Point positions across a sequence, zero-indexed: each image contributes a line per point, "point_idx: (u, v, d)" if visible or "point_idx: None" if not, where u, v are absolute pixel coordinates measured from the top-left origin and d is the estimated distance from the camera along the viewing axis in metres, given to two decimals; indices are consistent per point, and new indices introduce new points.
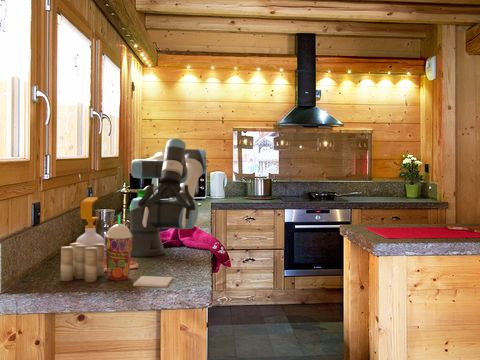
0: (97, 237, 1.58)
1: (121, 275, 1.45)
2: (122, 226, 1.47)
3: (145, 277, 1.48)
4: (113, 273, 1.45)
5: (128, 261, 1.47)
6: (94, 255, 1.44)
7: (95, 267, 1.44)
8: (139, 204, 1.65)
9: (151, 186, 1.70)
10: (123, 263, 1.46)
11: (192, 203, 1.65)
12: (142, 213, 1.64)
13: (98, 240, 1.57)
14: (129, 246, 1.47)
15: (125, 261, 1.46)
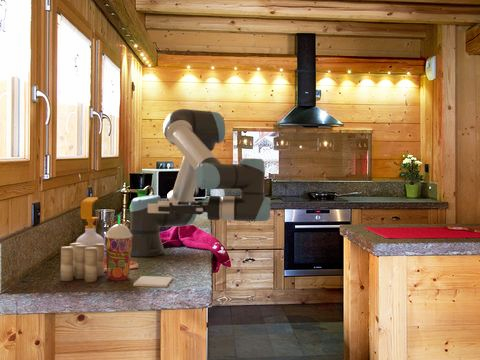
0: (97, 237, 1.58)
1: (121, 275, 1.45)
2: (122, 226, 1.47)
3: (145, 277, 1.48)
4: (113, 273, 1.45)
5: (128, 261, 1.47)
6: (94, 255, 1.44)
7: (95, 267, 1.44)
8: None
9: (198, 213, 1.40)
10: (123, 263, 1.46)
11: None
12: (161, 211, 1.39)
13: (98, 240, 1.57)
14: (129, 246, 1.47)
15: (125, 261, 1.46)
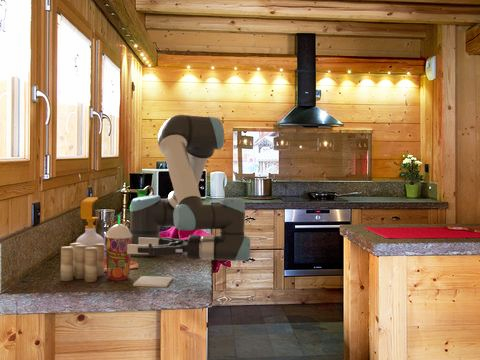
0: (97, 237, 1.58)
1: (121, 275, 1.45)
2: (122, 226, 1.47)
3: (145, 277, 1.48)
4: (113, 273, 1.45)
5: (128, 261, 1.47)
6: (94, 255, 1.44)
7: (95, 267, 1.44)
8: None
9: None
10: (123, 263, 1.46)
11: None
12: None
13: (98, 240, 1.57)
14: None
15: (125, 261, 1.46)
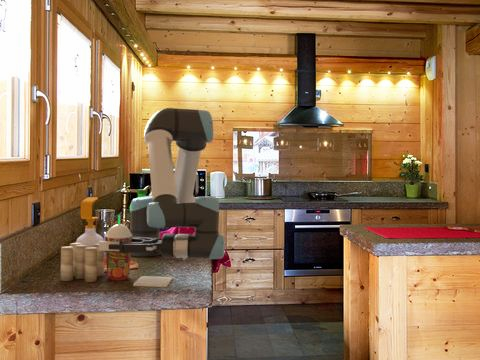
0: (97, 237, 1.58)
1: (121, 275, 1.45)
2: (122, 226, 1.47)
3: (145, 277, 1.48)
4: (113, 273, 1.45)
5: (128, 261, 1.47)
6: (94, 255, 1.44)
7: (95, 267, 1.44)
8: None
9: None
10: (123, 263, 1.46)
11: None
12: (111, 249, 1.43)
13: (98, 240, 1.57)
14: None
15: (125, 261, 1.46)
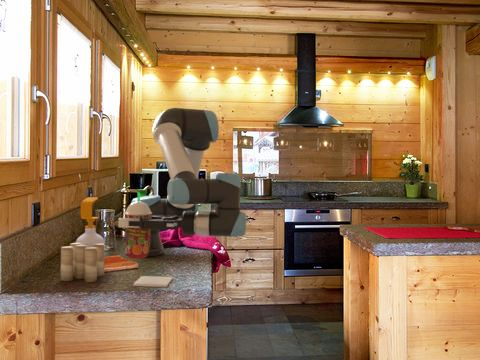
0: (97, 237, 1.58)
1: (141, 253, 1.43)
2: (142, 203, 1.44)
3: (145, 277, 1.48)
4: (133, 250, 1.42)
5: (148, 239, 1.45)
6: (94, 255, 1.44)
7: (95, 267, 1.44)
8: None
9: None
10: (143, 240, 1.43)
11: None
12: (131, 225, 1.40)
13: (98, 240, 1.57)
14: None
15: (145, 238, 1.43)
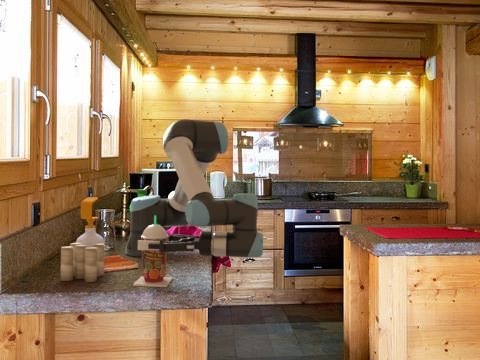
0: (97, 237, 1.58)
1: (158, 277, 1.42)
2: (158, 226, 1.43)
3: None
4: (150, 274, 1.41)
5: (164, 262, 1.44)
6: (94, 255, 1.44)
7: (95, 267, 1.44)
8: None
9: (189, 250, 1.38)
10: (160, 264, 1.42)
11: None
12: None
13: (98, 240, 1.57)
14: None
15: (161, 262, 1.42)
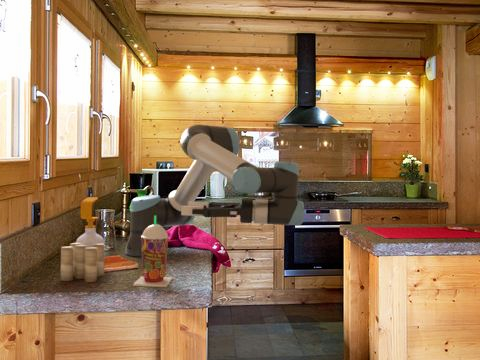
0: (97, 237, 1.58)
1: (158, 277, 1.42)
2: (158, 226, 1.43)
3: None
4: (150, 275, 1.41)
5: (164, 262, 1.44)
6: (94, 255, 1.44)
7: (95, 267, 1.44)
8: None
9: (232, 216, 1.39)
10: (160, 264, 1.42)
11: None
12: (195, 214, 1.38)
13: (98, 240, 1.57)
14: (165, 247, 1.43)
15: (161, 262, 1.42)
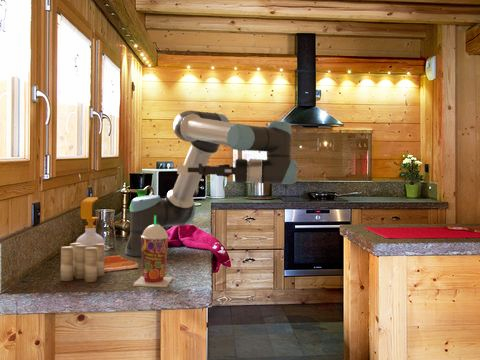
0: (97, 237, 1.58)
1: (158, 277, 1.42)
2: (158, 226, 1.43)
3: None
4: (150, 274, 1.41)
5: (164, 262, 1.44)
6: (94, 255, 1.44)
7: (95, 267, 1.44)
8: None
9: (227, 174, 1.43)
10: (160, 264, 1.42)
11: None
12: (190, 172, 1.42)
13: (98, 240, 1.57)
14: (165, 247, 1.43)
15: (161, 262, 1.42)
